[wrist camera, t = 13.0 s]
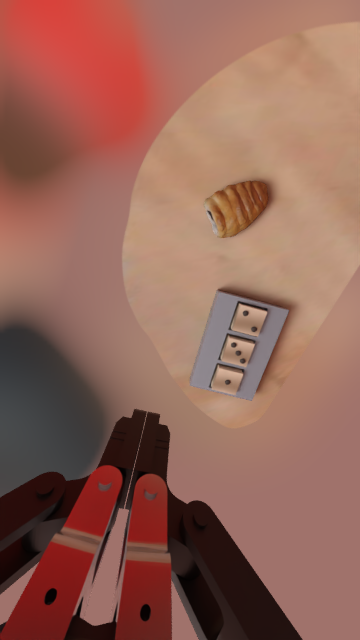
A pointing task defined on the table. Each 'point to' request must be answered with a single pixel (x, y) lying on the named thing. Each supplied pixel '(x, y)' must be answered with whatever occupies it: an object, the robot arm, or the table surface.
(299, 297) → the table surface
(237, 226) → the pastry
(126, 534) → the robot arm
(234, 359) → the button
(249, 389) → the panel
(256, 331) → the button
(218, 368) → the button
